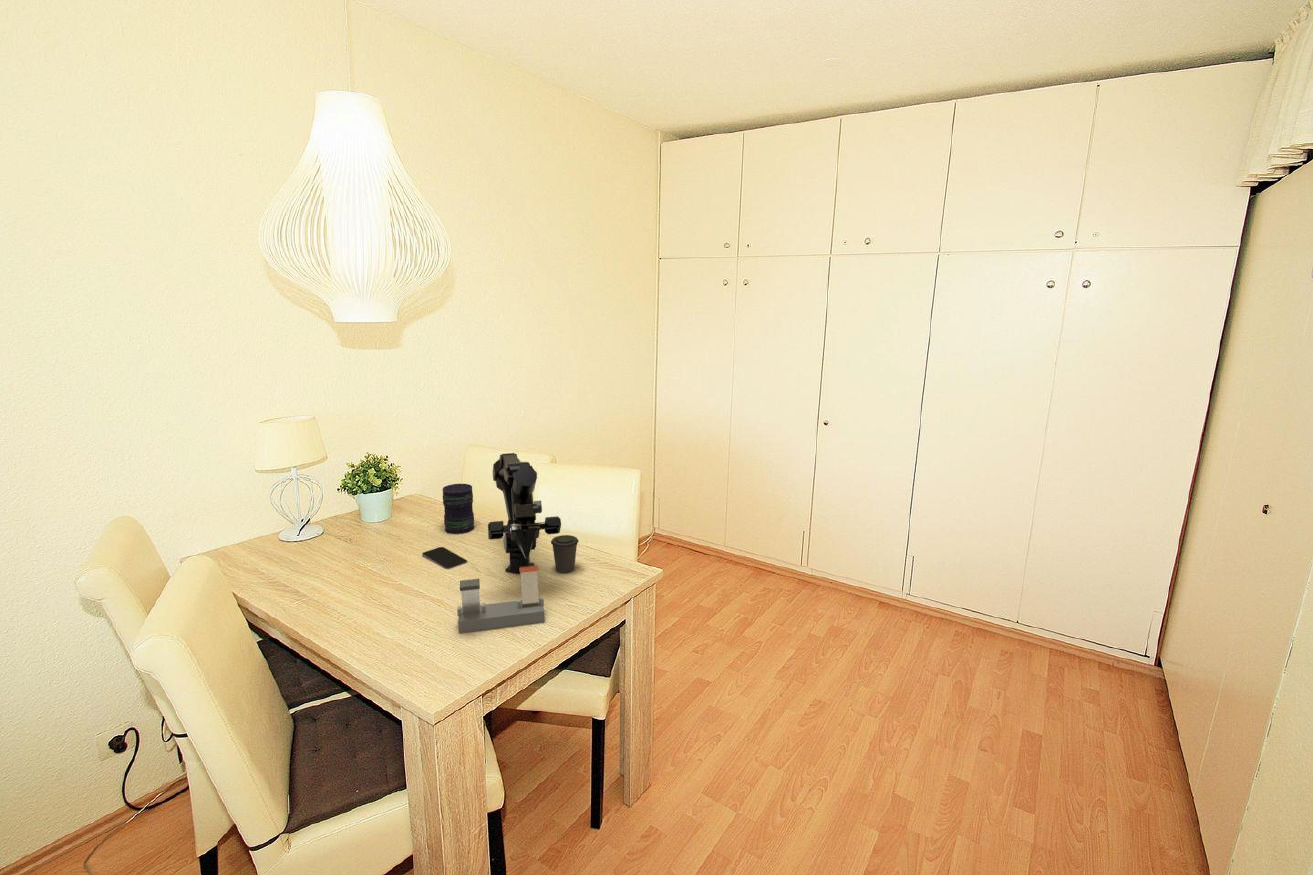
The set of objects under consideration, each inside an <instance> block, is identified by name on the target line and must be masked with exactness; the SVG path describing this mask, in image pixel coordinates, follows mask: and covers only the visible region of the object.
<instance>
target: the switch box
mask: <svg viewBox="0 0 1313 875" xmlns="http://www.w3.org/2000/svg"><path fill="white" fill-rule="evenodd" d="M544 606H545V599H544V596H543V595H541V596H540V595H539V602H536V603H528V604H522V599H521V598H517V599H516V600H511V601H510V600H509V601H502V602H495V603H493V602H492V603H486V602H482V603H481V604H480V612H473V613H465V614H463V610H462V605H457V609H456V610H457V617H458V620H457V626H458V634H464V633H465V634H466V633H472V632H481V631H487V630H489V631H490V630H496V629H502V628H511V627H518V626H525V625H533V624H539V623H545V608H544Z"/></svg>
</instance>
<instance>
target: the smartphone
mask: <svg viewBox="0 0 1313 875" xmlns="http://www.w3.org/2000/svg"><path fill="white" fill-rule="evenodd" d="M421 554H422V555H421V556H422V558H424V559H426V560H429V561H430V562H432V563H434V564H435V565H436V566H439V567H441V568H443V569H445V570H450V569H453V568H457V567H459V566H462V565H465V564H467V563H468V560H467V559H465V558H463V557H462V556H460V555H458V554H457V553H455V552H453V551H451V550H449V549H447V548H446V547H444V546H439V547H435V548H433V549H430V550H427V551H424V552H422V553H421Z"/></svg>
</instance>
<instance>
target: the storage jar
mask: <svg viewBox="0 0 1313 875" xmlns="http://www.w3.org/2000/svg"><path fill="white" fill-rule="evenodd" d="M473 503H474V494H473V485H471V484H468V483H454V484H447V485H445V486H443V487H442V504H443V506H444V515H443V521H444V522H443V524H444V532H445V533H447V534H449V535H463V534H468V533H471V532H473V531H475V530H474V529H475V514H474V511H473V510H474V508H473Z"/></svg>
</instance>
